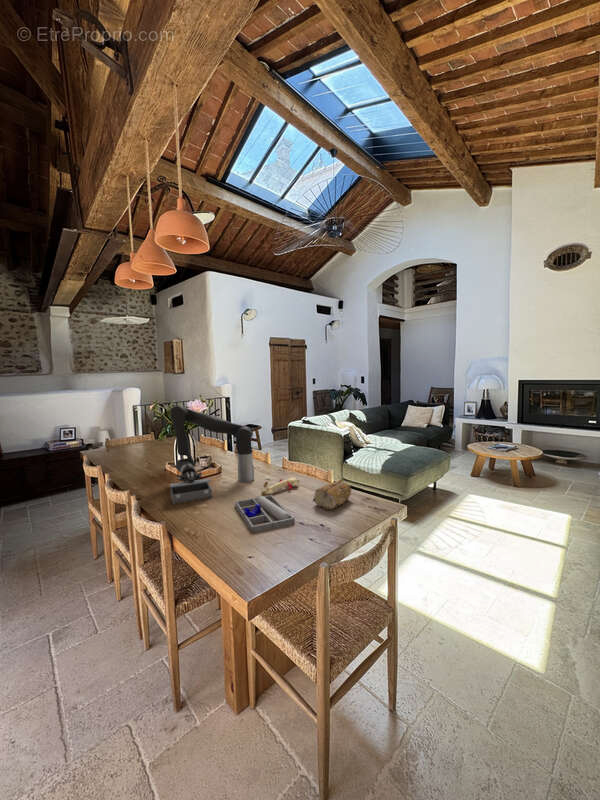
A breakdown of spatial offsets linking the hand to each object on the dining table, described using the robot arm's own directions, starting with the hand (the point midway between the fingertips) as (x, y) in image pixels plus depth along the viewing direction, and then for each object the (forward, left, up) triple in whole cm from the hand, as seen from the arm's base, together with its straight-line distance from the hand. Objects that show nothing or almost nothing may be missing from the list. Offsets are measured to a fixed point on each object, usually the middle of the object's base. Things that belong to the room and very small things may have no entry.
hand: (191, 481), depth 179 cm
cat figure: (-48, +4, -12) cm, 50 cm away
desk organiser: (-28, +31, -11) cm, 43 cm away
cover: (0, -8, -4) cm, 9 cm away
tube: (-33, +32, -12) cm, 47 cm away
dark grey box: (0, -8, -11) cm, 14 cm away
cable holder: (-24, +31, -11) cm, 40 cm away
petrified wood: (-66, +34, -12) cm, 75 cm away
